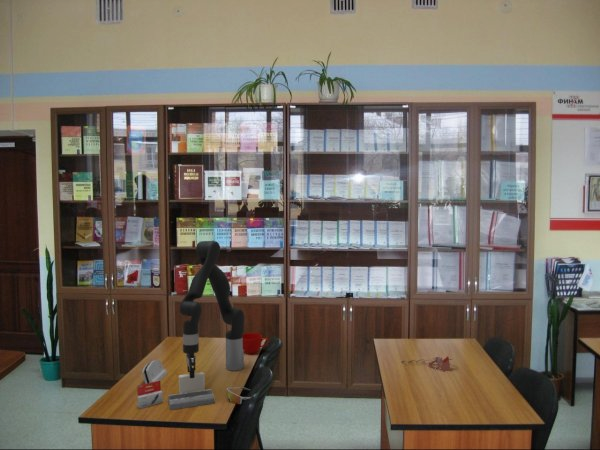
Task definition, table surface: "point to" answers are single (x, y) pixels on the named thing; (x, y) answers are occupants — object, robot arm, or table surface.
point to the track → (190, 399)
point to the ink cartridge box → (149, 394)
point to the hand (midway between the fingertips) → (190, 374)
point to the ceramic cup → (252, 342)
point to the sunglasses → (235, 395)
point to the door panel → (191, 382)
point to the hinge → (153, 372)
